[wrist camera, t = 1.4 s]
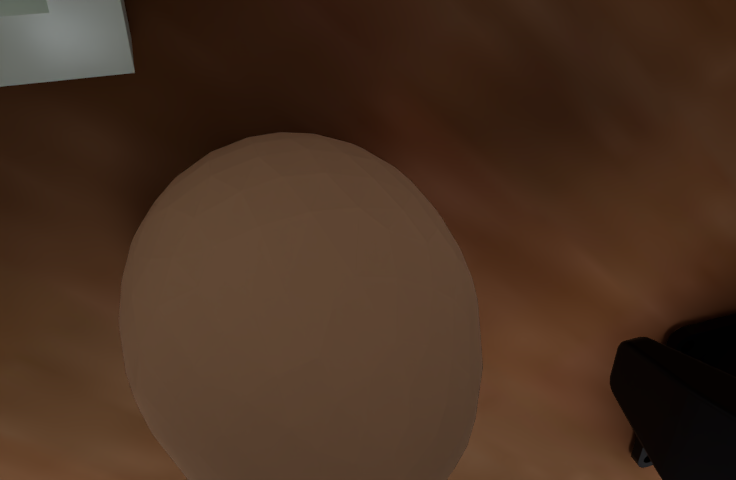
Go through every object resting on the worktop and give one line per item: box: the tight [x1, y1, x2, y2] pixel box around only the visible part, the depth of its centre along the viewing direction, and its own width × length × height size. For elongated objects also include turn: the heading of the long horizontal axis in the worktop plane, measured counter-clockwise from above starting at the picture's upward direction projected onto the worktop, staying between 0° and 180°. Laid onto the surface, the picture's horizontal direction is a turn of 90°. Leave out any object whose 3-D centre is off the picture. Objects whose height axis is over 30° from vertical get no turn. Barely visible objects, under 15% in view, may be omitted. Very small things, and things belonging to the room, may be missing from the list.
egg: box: [119, 132, 483, 480], centre depth 12 cm, size 6×6×8 cm
